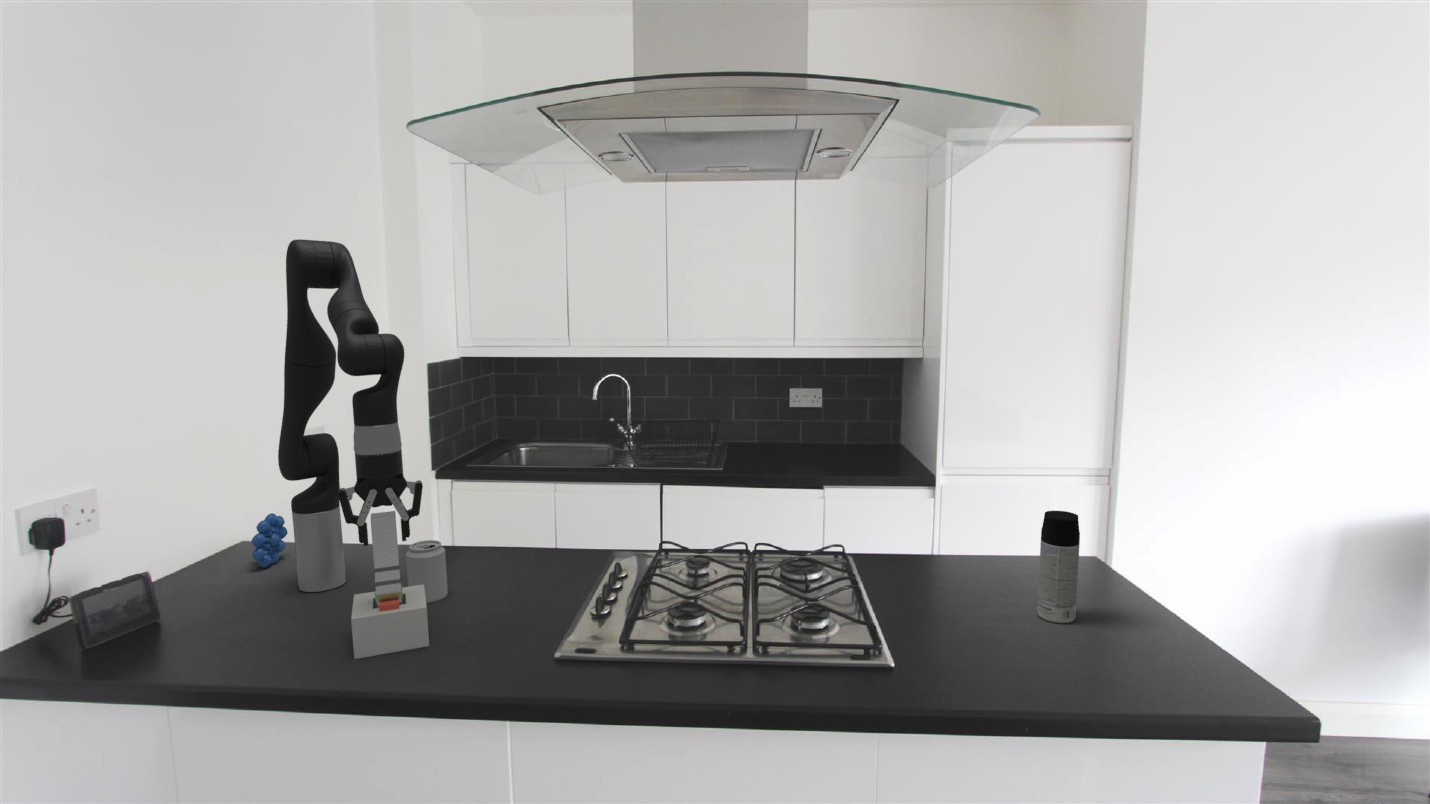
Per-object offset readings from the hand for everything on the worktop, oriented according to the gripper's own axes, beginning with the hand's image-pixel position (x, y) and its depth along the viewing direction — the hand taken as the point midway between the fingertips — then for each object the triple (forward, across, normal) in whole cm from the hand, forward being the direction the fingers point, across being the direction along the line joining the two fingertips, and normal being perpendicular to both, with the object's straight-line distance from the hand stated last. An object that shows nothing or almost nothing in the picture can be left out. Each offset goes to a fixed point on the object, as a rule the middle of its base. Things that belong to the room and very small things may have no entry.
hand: (385, 542), depth 137 cm
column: (+11, 0, 0) cm, 11 cm away
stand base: (+19, 0, 0) cm, 19 cm away
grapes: (+19, +27, -59) cm, 68 cm away
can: (+19, -7, -19) cm, 28 cm away
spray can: (+19, -116, +41) cm, 125 cm away
